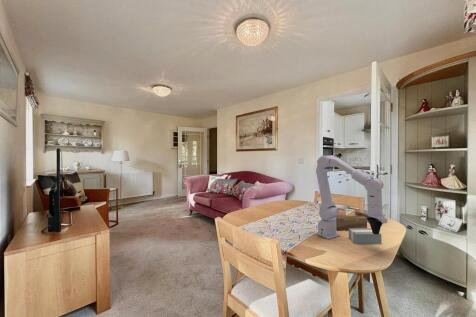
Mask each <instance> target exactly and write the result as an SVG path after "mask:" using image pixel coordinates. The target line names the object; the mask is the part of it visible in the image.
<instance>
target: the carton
mask: <svg viewBox="0 0 476 317" xmlns="http://www.w3.org/2000/svg"><path fill="white" fill-rule="evenodd" d="M348 239H350V240H351V241H352V242H353V243H355V245H379V244H380V245H381V244H383V242H382V233H380V232H379V234H373V233H372V229H371V227H370V228H369V227H367V228H354V229H349V230H348Z"/></svg>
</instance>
